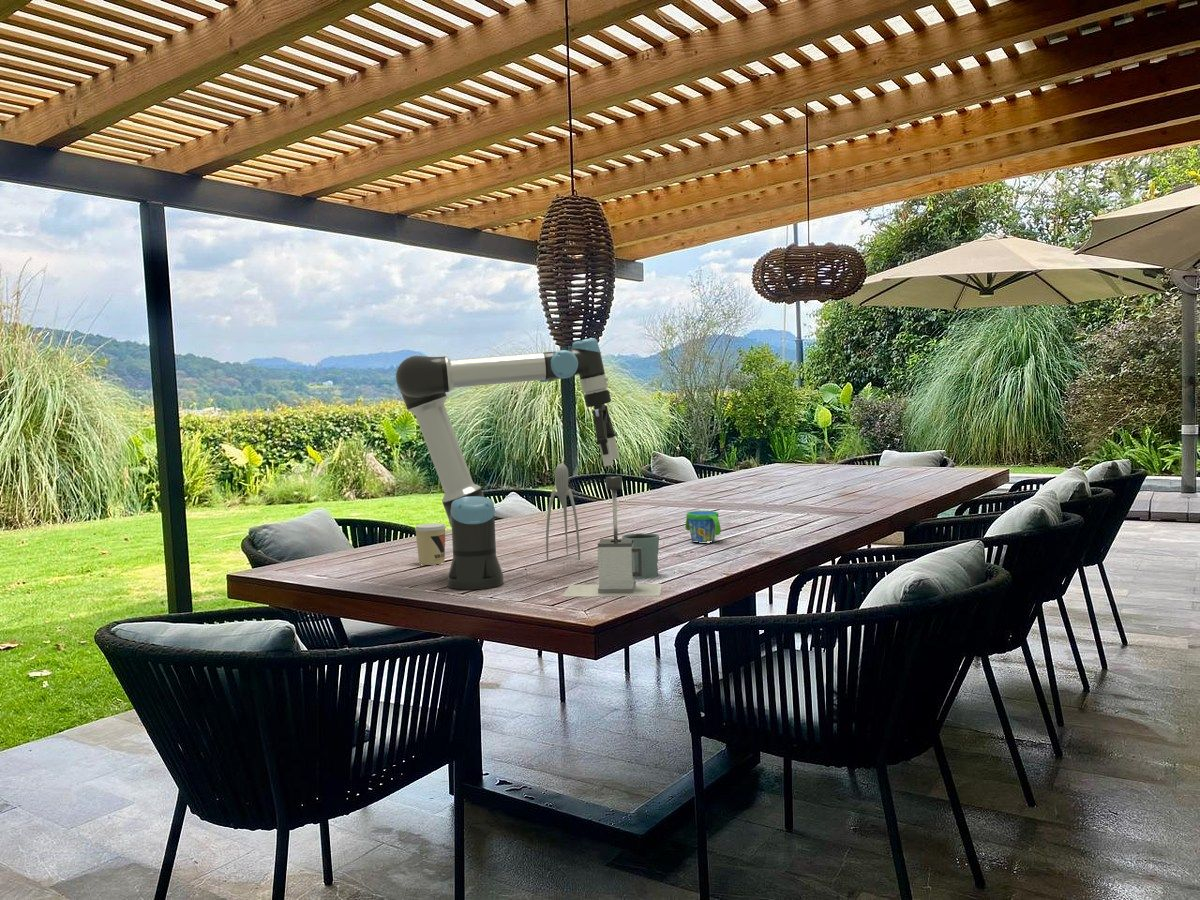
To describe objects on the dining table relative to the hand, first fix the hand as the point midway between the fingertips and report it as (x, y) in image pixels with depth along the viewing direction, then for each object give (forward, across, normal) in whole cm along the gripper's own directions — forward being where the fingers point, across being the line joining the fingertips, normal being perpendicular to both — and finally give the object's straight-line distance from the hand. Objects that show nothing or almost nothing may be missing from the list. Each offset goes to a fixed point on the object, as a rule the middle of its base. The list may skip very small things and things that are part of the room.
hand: (611, 462), depth 269 cm
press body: (+27, -41, -1) cm, 49 cm away
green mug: (+31, -22, -4) cm, 38 cm away
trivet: (+28, -42, 0) cm, 50 cm away
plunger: (+17, -40, -3) cm, 44 cm away
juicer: (+28, +11, +23) cm, 38 cm away
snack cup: (+38, +40, -18) cm, 57 cm away
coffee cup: (+20, +3, +63) cm, 66 cm away
